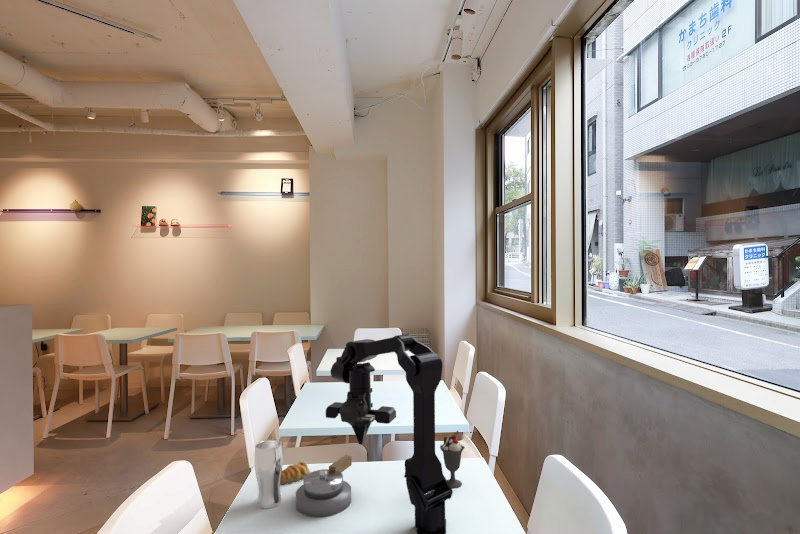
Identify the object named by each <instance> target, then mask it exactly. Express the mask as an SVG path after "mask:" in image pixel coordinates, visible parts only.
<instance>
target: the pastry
mask: <svg viewBox="0 0 800 534" xmlns="http://www.w3.org/2000/svg"><path fill="white" fill-rule="evenodd" d="M309 473H311V471H310V468H309V467H308V465H307V463H306V461H299V462H298V463H293V464H290V465H288V466H287V467H286V468H284V469H282V473H281V480H280V485H287V483H288V484H294V483H293V482H295V483H297V481H298V482H300V480H301V481H303V479H304V477H305V476H306V475H307V474H309Z"/></svg>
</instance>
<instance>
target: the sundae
mask: <svg viewBox="0 0 800 534" xmlns="http://www.w3.org/2000/svg"><path fill="white" fill-rule="evenodd" d="M459 433H460V432H459V430H456V432H455V433H453V434H452V435H451V436H449V437H448V436H444V437H443V444H441V445H440V446H439V449H440V450H441V452H442V455H443V461H444V466H445V467H444V468H446V470H447V471H449V472H450V479H449V478H448V479H446V480H447V482H448V484H449V485H450V487H451V489H457V488H460V487H461V486H462V485H463V483H462V481H461V480H459V479H456V473H455V472H457V471H458V470H459V469H460V465H461V460H462V453H463V451H464V449H465V446H464V445H463V444H461V443H460V442H459V440H458V438H457V434H459Z"/></svg>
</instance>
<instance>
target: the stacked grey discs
mask: <svg viewBox="0 0 800 534" xmlns="http://www.w3.org/2000/svg"><path fill="white" fill-rule="evenodd" d="M351 503H352V487H351V484H349V482H348V481H345V480H343V490H342V492H341V493H340V494H338V495H336V496H334V497H331V498H327V499H312V498H309V497H307V496H306V495H305V494H304V485H303V484H301V485H300V486H299V487H298V488H297V490H296V492H295V508H296V510H297V512H298V513H300V514H302V515H303V516H307V517H312V518H323V517H330V516H334V515H337V514H339V513H342V512H344V511H345V510H347V509H348V508H349V507H350V506H351Z"/></svg>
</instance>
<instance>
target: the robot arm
mask: <svg viewBox="0 0 800 534" xmlns="http://www.w3.org/2000/svg"><path fill="white" fill-rule="evenodd" d="M407 352H410V353H411V354H412V355H410V356H409V355H408V353H407ZM390 353H395V355H396V357H397V358H396V359H397V363H398V365H399V367H401V368H402V370H403V371H404V372H405V377H406V382H407V384H408V386H409V387H410V389H411V391H412V395H413V396H412V398H413V399H412V400H413V401H412V402H413V410H412V411H413V413H412V415H413V418H412V419H413V454H412V456H411V457H409V458H407V459H405V460H404V469H405V470H404V471H405V473H404V475H403V477H404V478H405V483H406V488H407V493H408V498H409V501H410V503H411V505H413V506H414V528H415V529H416V534H447V519H446V501H447V500H450V499H452V496H453V488H451V487H450V485H449V484H448V482H447V480H448V479H446V477H445V475H444V473H443V466H442V462H441V460H440V458H439V457H438V456H437V454H436V411H435V409H436V408H435V407H436V402H435V401H436V390H437V389H438V387H439V384H440V382H441V380H442V373H443V361H442V359H441V358H440V356H439V355H438V354H437V353H436V352H434V350H432V348H430V347H429V346H428V345H426V344H424V343H422V342H420V341H419V340H417V339H416V338H415V337H414V336H413V335H412V334H408V333H405V334H398V335H395V336H393V337H388V338H384V339H378V340H374V339H370V338H369V339H367V338H365V339H360V340H353V341H347V342H346V344H345V347H344V349H343V351H342V352H341V355H340V356H336V359H335V360H336V361H335V362H334V363H333V364H332V366H331V368H330V377H331V378H332V379H334V380H336V381H338V382H342V383H345V384H349V386H348V387H349V391H347V394H346V400H345V401H344V402H337V401H335V402H332V403H331V404H330V405H328V406H327V407H326V409H325V418H327V419H336V418H337V417H338V416H339V415H340V419H341V422H343V423H346V424H347V423H348V424H349V425H350V426H351V427H352V430H353V432H354V435H355V437H356V440H357V441H358V444H359V445H361V446H362V445H363V444H364V442H365V440H366V437H367V434H368V431H369V430H370V427H371V424H372V423H373V422H374V421H375V422H376V423H377V424H385V425H386V424H390V423H392V422H393V421H394V420H395V418H397V411H396V409H395V407H394V406H384V405H383V406H380V407H379V408H378V409H372V408H373V406H374V405H373V402H372V400H371V399H372V395H371V394H372V392H373V388H372V387H371V373H373V372H375V370H376V368H375V367H374V366H373V365H372V364H371V363H370V362H369V361H371V360H373V359H375V358H376V357H378V355H384V354H390ZM366 361H368V362H366Z"/></svg>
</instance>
